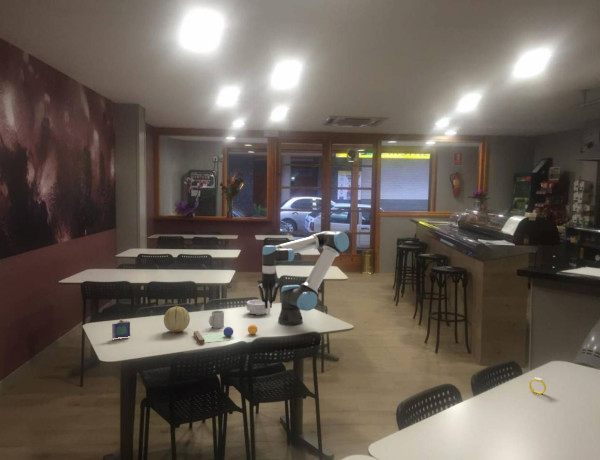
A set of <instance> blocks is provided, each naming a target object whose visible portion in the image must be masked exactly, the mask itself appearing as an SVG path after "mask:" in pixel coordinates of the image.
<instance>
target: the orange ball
mask: <svg viewBox="0 0 600 460" xmlns="http://www.w3.org/2000/svg"><path fill="white" fill-rule="evenodd" d="M258 329H259V328H258V326H257V325H256V324H250V325H249V326H248V327H247V332H248V333H249V334H250V335H256V334H257V332H258Z"/></svg>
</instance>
